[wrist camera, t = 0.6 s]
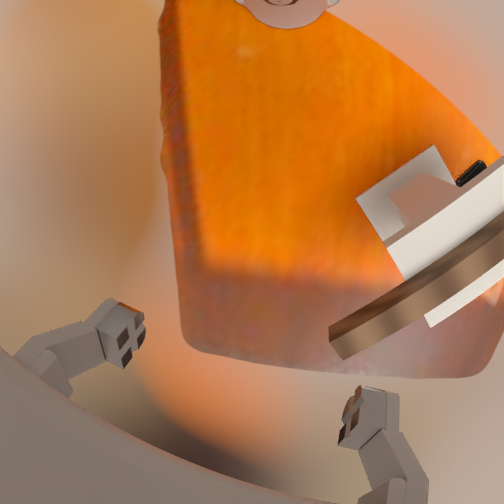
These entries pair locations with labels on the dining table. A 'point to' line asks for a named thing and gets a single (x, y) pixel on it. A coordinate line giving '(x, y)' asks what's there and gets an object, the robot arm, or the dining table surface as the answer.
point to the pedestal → (434, 218)
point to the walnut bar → (420, 291)
